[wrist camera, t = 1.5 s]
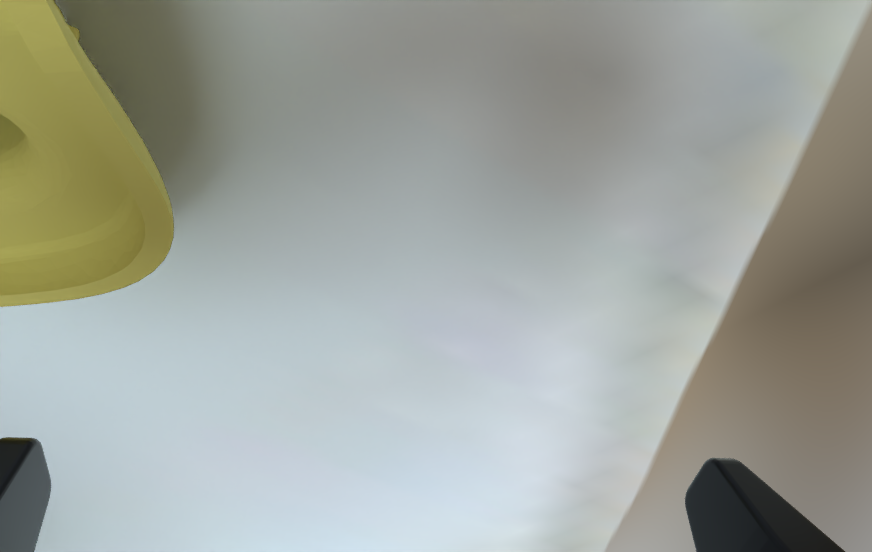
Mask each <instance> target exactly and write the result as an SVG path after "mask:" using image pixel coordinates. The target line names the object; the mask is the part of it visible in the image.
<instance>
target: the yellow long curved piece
mask: <svg viewBox="0 0 872 552" xmlns="http://www.w3.org/2000/svg"><path fill="white" fill-rule="evenodd" d="M54 1H55V0H0V307H3V306H17V305H28V304H39V303H49V302H57V301H65V300H73V299H80V298H85V297H90V296H95V295H100V294H104V293H107V292H111V291H114V290H117V289H121V288H124V287H126V286H128V285H131V284H133V283H135V282H138V281H140V280H141V279H143V278H144V277H146V276H147V275H149V274H150V273H152V272H153V271H154V270H155V269H156V268H157V267H158V266H159V265H160V264H161V263H162V262H163V261H164V259H165V257H166V256H167V254H168V252H169V250H170V247H171V243H172V240H173V231H174V223H173V213H172V207H171V203H170V199H169V196H168V193H167V191H166V188H165V185H164V183H163V180H162V178H161V175H160V173H159V171H158V169H157V167H156V165H155V163H154V161H153V159H152V157H151V155H150V153H149V151H148V150H147V148H146V146H145V144H144V142H143V140H142V139H141V137H140V135H139V134H138V132H137V131H136V129H135V127H134V126H133V124H132V123H131V121H130V119H129V118H128V116H127V115H126V113H125V112H124V110H123V108H122V107H121V105H120V104H119V102H118V101H117V99H116V98H115V96H114V95H113V93H112V92H111V91H110V89H109V88H108V86H107V85H106V83H105V82H104V80H103V79H102V78H101V76H100V75H99V73H98V72H97V70H96V69H95V67H94V66H93V64H92V63H91V62H90V60H89V59H88V57H87V55H86V54H85V52H84V51H83V49H82V47H81V46H80V44H79V43H78V41H79V38H80V32H79V30H78V29H77V28H75V27H72V26H70V25H68V24H67V23H66V22H65V19H64V17H63V15H62V13H61V11H60V9H59V8H58V6H57V5H56V4H55V2H54Z"/></svg>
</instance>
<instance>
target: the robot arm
mask: <svg viewBox="0 0 872 552" xmlns="http://www.w3.org/2000/svg"><path fill="white" fill-rule="evenodd" d="M50 492H51V479H50V475H49V471H48V467H47V463H46V460H45V456H44V452H43V448H42V445H41V443H40V442H39V441H38V440H37V439H34V438H12V437H7V438H2V439H0V552H34V550H35V546H36V543H37V540H38V536H39V533H40V529H41V526H42V522H43V519H44V515H45V512H46V508H47V505H48V501H49V497H50ZM685 505H686V511H687V515H688V519H689V523H690V527H691V531H692V535H693V540H694V543H695V547H696V552H845V551H844V550H843V549H842V548H840V547H839V546H838V545H837V544H836V543H835V542H833V541H832V540H831V539H830V538H829V537H827V536H826V535H825V534H824V533H823V532H822V531H821V530H819V529H818V528H817V527H816V526H815V525H814V524H812V523H811V522H810V521H809V520H808V519H807V518H805V517H804V516H803V515H802V514H801V513H799V512H798V511H797V510H796V509H795V508H794V507H793V506H791V505H790V504H789V503H788V502H787V501H786V500H784V499H783V498H782V497H781V496H780V495H778V494H777V493H776V492H775V491H774V490H773V489H772V488H771V487H769V486H768V485H767V484H766V483H765V482H763V481H762V480H761V479H760V478H759V477H758V476H757V475H755V474H754V473H753V472H752V471H750V469H748V468H747V467H746V466H745V465H744V464H742V463H741V462H740V461H738V460H735V459H731V458H711V459H709V460H707V461H706V462H705V463H704V464H703V466H702V468H701V469H700V471H699V472H698V474H697V475H696V477H695V479H694V480H693V482H692V483H691V485H690V486H689V488H688V490H687V492H686V497H685Z"/></svg>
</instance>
